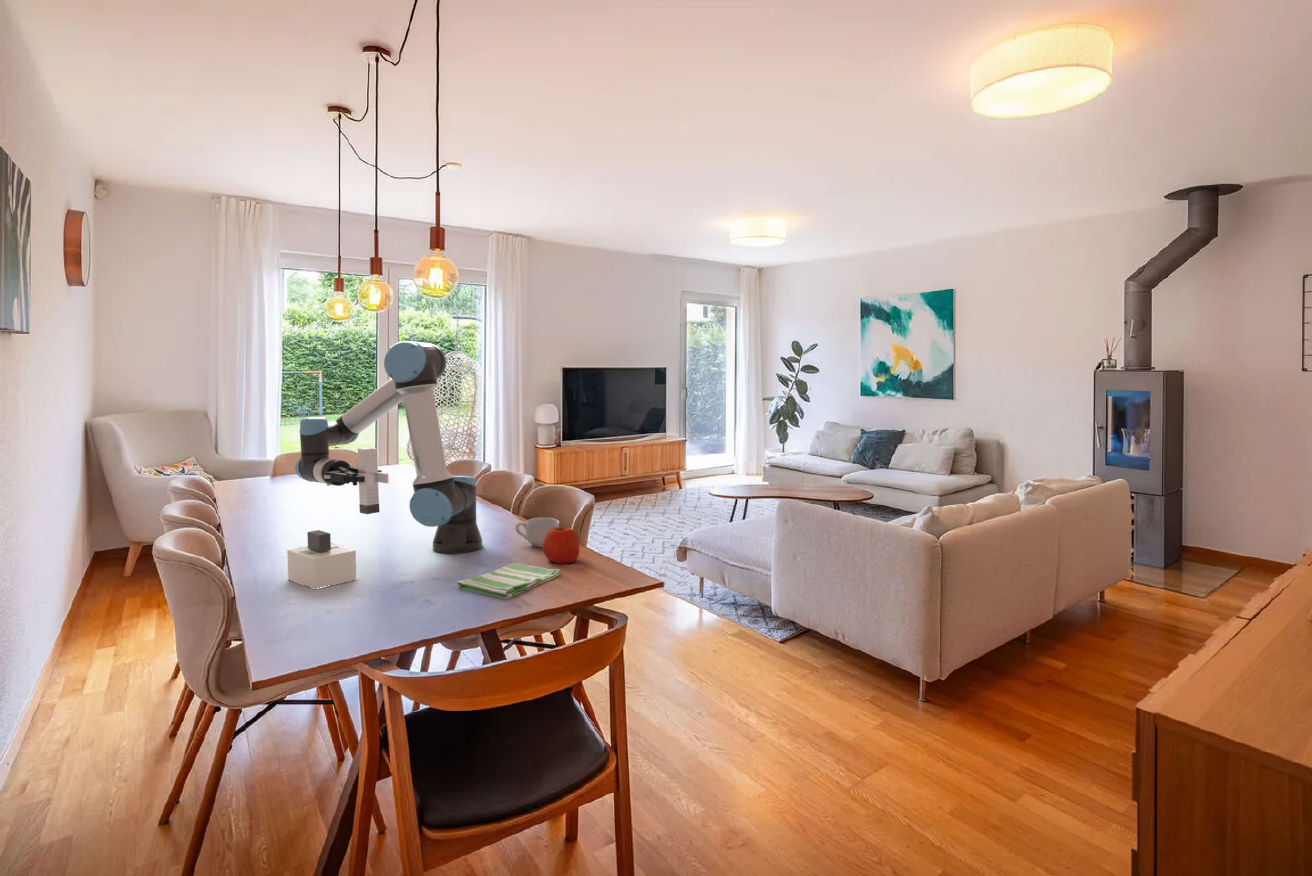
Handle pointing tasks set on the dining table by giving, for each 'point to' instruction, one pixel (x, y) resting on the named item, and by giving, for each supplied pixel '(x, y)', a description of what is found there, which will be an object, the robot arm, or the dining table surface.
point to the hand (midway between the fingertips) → (380, 479)
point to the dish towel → (508, 580)
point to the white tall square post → (366, 492)
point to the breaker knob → (319, 541)
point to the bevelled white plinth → (322, 566)
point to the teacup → (537, 529)
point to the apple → (561, 545)
